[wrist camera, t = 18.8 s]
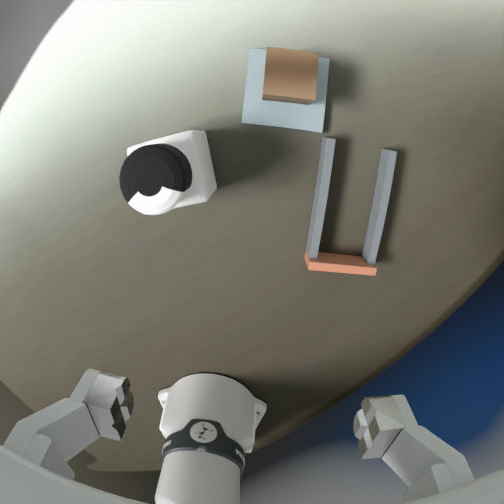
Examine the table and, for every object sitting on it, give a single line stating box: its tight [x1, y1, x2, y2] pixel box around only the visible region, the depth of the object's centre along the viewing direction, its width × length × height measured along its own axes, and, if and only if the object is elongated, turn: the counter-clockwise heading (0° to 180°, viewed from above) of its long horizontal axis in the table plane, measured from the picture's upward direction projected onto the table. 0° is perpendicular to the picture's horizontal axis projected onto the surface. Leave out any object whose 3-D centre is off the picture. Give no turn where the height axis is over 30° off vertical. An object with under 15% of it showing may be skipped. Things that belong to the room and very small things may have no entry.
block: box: [262, 47, 319, 105], centre depth 28 cm, size 5×5×5 cm
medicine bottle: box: [120, 130, 217, 215], centre depth 29 cm, size 7×7×12 cm
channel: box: [305, 137, 397, 276], centre depth 35 cm, size 15×8×4 cm, turn 174°
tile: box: [242, 48, 330, 133], centre depth 31 cm, size 9×9×1 cm
